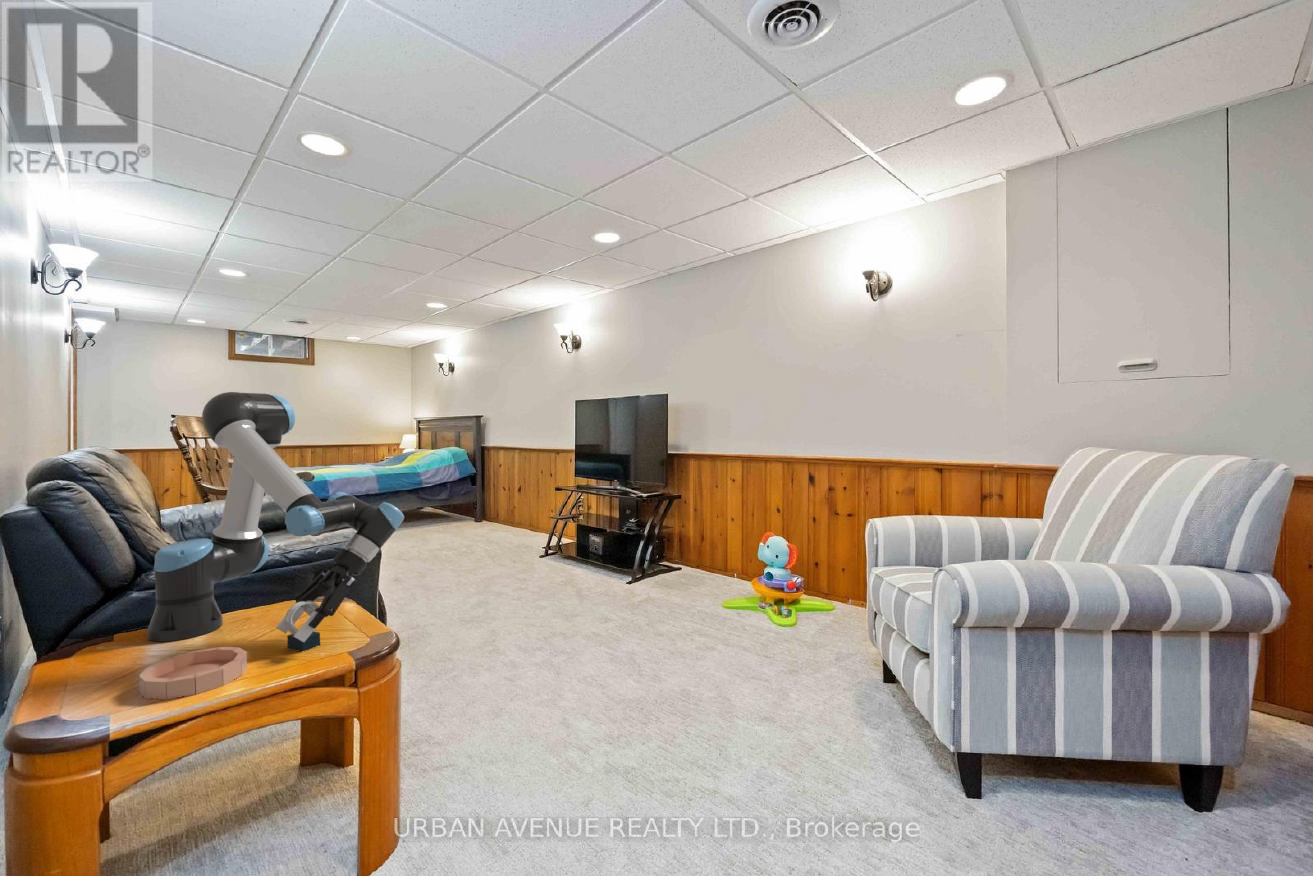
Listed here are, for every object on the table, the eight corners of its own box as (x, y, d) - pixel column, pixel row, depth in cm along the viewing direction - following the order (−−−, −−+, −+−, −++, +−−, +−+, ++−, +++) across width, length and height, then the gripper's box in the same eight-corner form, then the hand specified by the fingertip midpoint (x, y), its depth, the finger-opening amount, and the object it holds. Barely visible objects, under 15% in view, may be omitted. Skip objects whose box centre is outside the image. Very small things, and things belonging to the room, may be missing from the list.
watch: (327, 642, 137) (326, 598, 137) (295, 654, 129) (294, 608, 129) (312, 639, 139) (311, 596, 139) (280, 651, 132) (278, 605, 131)
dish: (131, 684, 115) (130, 667, 115) (229, 656, 129) (229, 641, 129) (154, 707, 105) (154, 689, 105) (258, 674, 119) (257, 658, 119)
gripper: (388, 569, 140) (323, 652, 127) (345, 558, 153) (282, 632, 140) (366, 553, 136) (297, 637, 123) (325, 543, 148) (257, 618, 136)
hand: (289, 634), depth 132 cm, fingers open, 9 cm apart
